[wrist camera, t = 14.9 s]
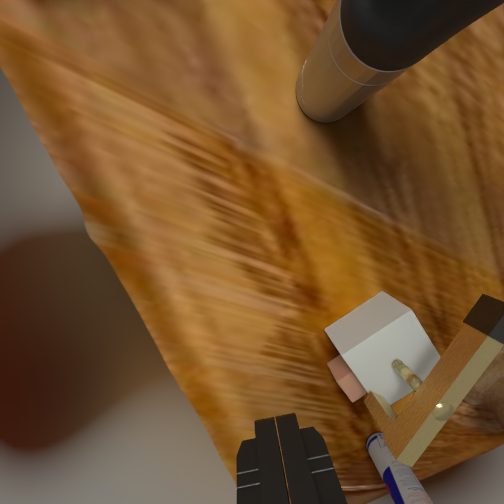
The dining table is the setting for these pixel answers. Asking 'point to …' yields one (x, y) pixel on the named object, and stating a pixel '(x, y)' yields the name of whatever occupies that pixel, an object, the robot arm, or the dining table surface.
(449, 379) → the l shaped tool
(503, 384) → the stone cup
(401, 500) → the beverage can
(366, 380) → the box
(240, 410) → the dining table surface
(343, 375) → the block
